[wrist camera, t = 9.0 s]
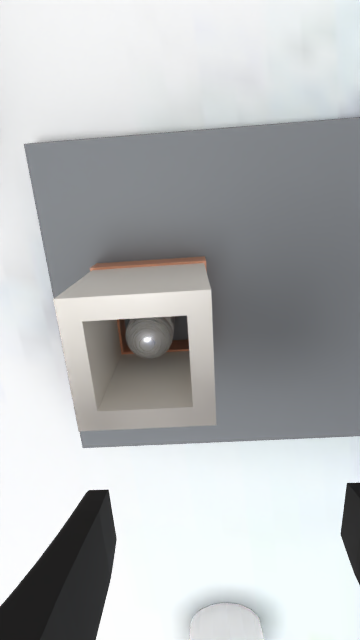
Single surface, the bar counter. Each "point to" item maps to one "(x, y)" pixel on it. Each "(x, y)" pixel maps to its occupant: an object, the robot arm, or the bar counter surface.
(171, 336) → the steel pin
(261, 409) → the pin board
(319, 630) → the bar counter surface
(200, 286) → the sleeve
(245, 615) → the white cylinder
